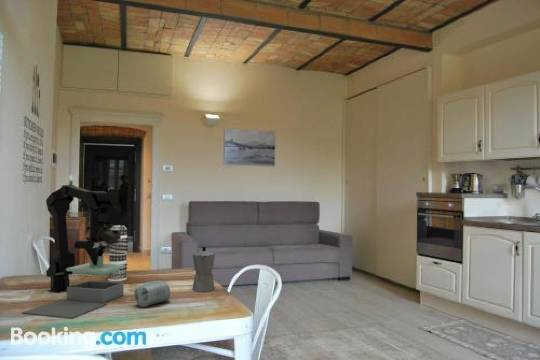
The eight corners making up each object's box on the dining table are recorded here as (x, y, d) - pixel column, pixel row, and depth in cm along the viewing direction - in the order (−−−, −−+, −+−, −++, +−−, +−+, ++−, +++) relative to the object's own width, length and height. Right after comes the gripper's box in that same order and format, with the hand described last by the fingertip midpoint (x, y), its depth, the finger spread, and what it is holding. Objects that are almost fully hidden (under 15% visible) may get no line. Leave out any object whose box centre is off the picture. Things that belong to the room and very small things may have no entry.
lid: (66, 274, 153) (66, 257, 154) (89, 268, 166) (89, 252, 166) (104, 276, 149) (104, 259, 149) (125, 270, 161) (125, 254, 162)
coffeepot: (216, 292, 167) (216, 248, 168) (192, 293, 165) (193, 249, 166) (212, 284, 182) (213, 243, 183) (191, 285, 180) (191, 244, 181)
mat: (21, 313, 136) (21, 312, 136) (60, 300, 153) (60, 299, 153) (72, 318, 131) (72, 317, 131) (106, 305, 148) (106, 303, 148)
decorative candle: (123, 281, 187) (124, 226, 187) (103, 281, 187) (104, 226, 188) (130, 277, 196) (131, 224, 197) (111, 277, 196) (112, 224, 197)
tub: (66, 300, 153) (66, 287, 153) (88, 293, 165) (88, 280, 165) (103, 303, 149) (103, 290, 149) (123, 295, 161) (123, 283, 161)
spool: (143, 302, 140) (143, 274, 145) (128, 310, 145) (128, 282, 150) (177, 304, 149) (175, 278, 154) (162, 312, 154) (160, 286, 159)
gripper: (99, 226, 147) (98, 270, 146) (129, 222, 165) (129, 261, 164) (73, 225, 150) (72, 268, 149) (106, 222, 168) (105, 260, 167)
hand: (96, 264), depth 157 cm, fingers closed on lid
